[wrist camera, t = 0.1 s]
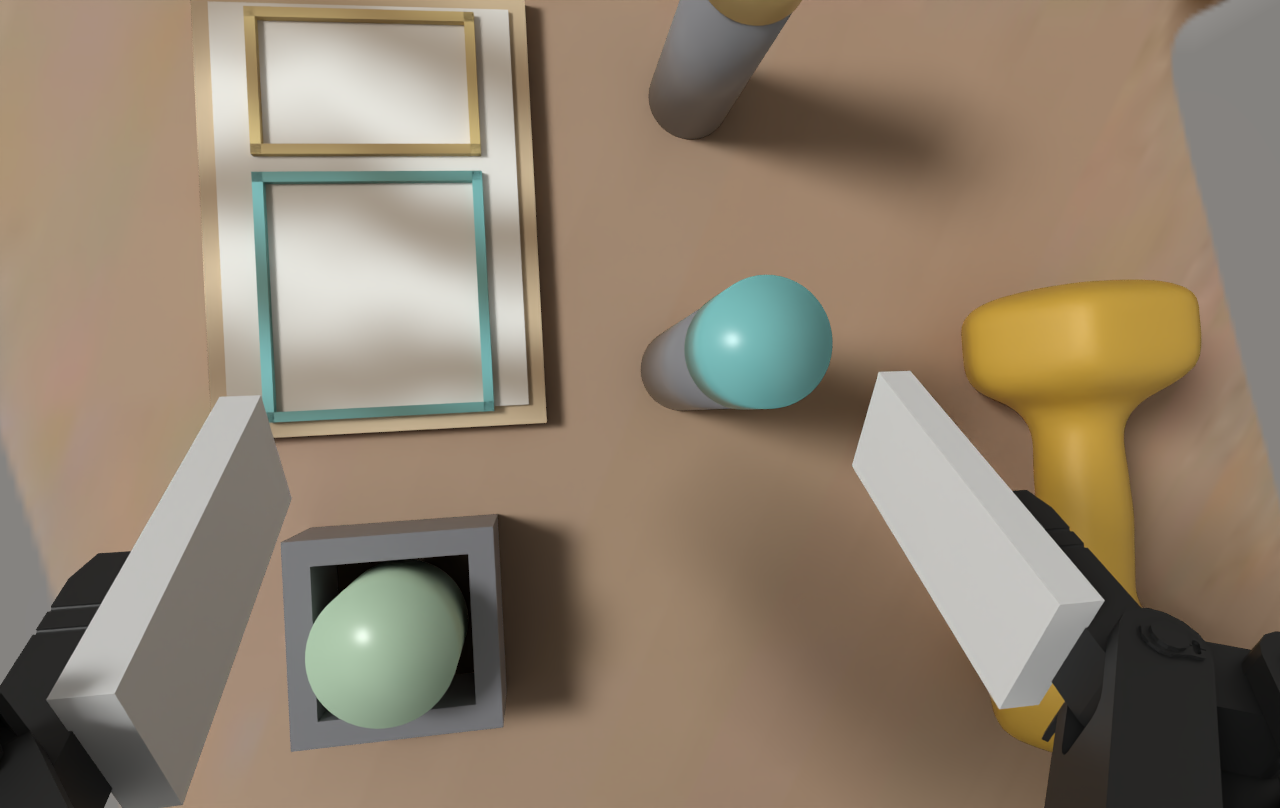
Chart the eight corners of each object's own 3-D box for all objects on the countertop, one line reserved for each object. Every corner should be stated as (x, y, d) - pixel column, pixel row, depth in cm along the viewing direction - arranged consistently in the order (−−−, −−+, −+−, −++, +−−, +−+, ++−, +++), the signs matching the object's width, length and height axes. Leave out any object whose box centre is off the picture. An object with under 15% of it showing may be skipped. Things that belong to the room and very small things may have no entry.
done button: (471, 680, 29) (462, 719, 25) (339, 693, 28) (308, 737, 24) (465, 553, 29) (454, 574, 25) (332, 564, 28) (301, 587, 24)
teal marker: (724, 409, 32) (836, 405, 20) (642, 413, 31) (707, 412, 20) (719, 326, 32) (828, 273, 20) (637, 329, 32) (699, 276, 20)
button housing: (506, 691, 30) (503, 727, 27) (319, 712, 29) (290, 751, 26) (497, 514, 31) (492, 526, 27) (310, 527, 29) (280, 542, 26)
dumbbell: (1117, 690, 35) (1293, 773, 27) (943, 714, 33) (1073, 808, 25) (1090, 299, 35) (1257, 263, 27) (916, 306, 34) (1036, 271, 26)
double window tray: (546, 422, 31) (547, 423, 30) (220, 440, 29) (205, 441, 28) (524, 4, 31) (524, -14, 30) (199, -5, 29) (183, -25, 28)
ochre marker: (731, 140, 32) (845, -20, 20) (649, 140, 32) (718, -25, 20) (726, 58, 32) (838, -150, 20) (645, 56, 32) (711, -158, 20)
